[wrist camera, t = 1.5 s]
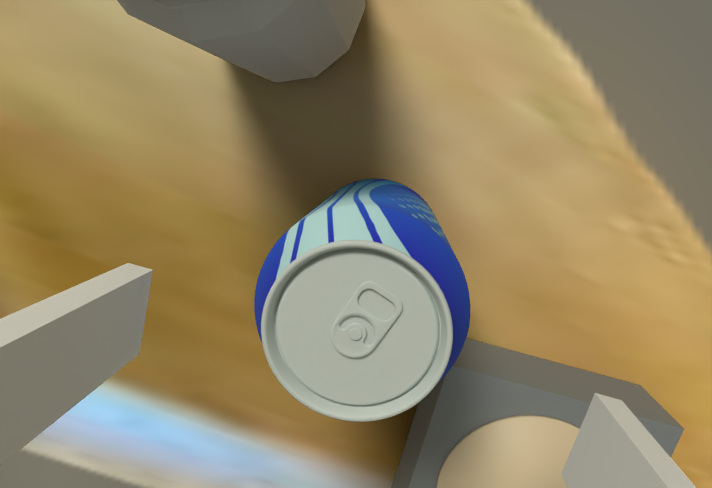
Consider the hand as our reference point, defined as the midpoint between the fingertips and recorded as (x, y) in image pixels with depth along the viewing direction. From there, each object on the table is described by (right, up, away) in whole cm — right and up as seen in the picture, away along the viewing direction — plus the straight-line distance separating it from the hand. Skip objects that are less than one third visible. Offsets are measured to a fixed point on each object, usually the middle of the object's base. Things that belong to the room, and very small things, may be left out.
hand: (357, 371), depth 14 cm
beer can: (+1, +4, +18) cm, 19 cm away
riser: (+11, -11, +20) cm, 25 cm away
